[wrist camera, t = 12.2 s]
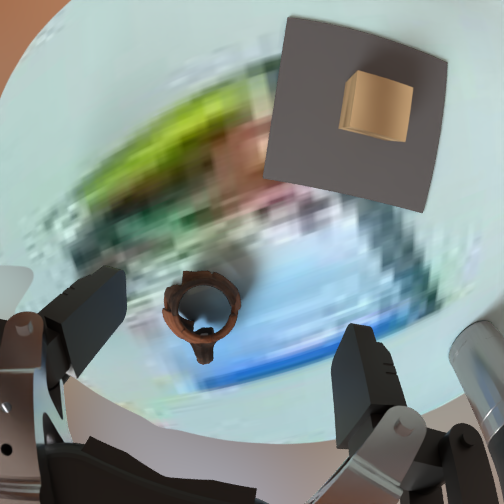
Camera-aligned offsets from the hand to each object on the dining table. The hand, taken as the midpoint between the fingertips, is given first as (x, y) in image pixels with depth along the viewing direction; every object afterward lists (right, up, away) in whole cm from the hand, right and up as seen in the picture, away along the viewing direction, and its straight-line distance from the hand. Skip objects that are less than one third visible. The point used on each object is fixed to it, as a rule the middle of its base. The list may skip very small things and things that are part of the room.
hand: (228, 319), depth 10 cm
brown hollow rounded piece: (-5, -4, +27) cm, 28 cm away
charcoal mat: (+12, +16, +16) cm, 26 cm away
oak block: (+12, +16, +16) cm, 26 cm away
